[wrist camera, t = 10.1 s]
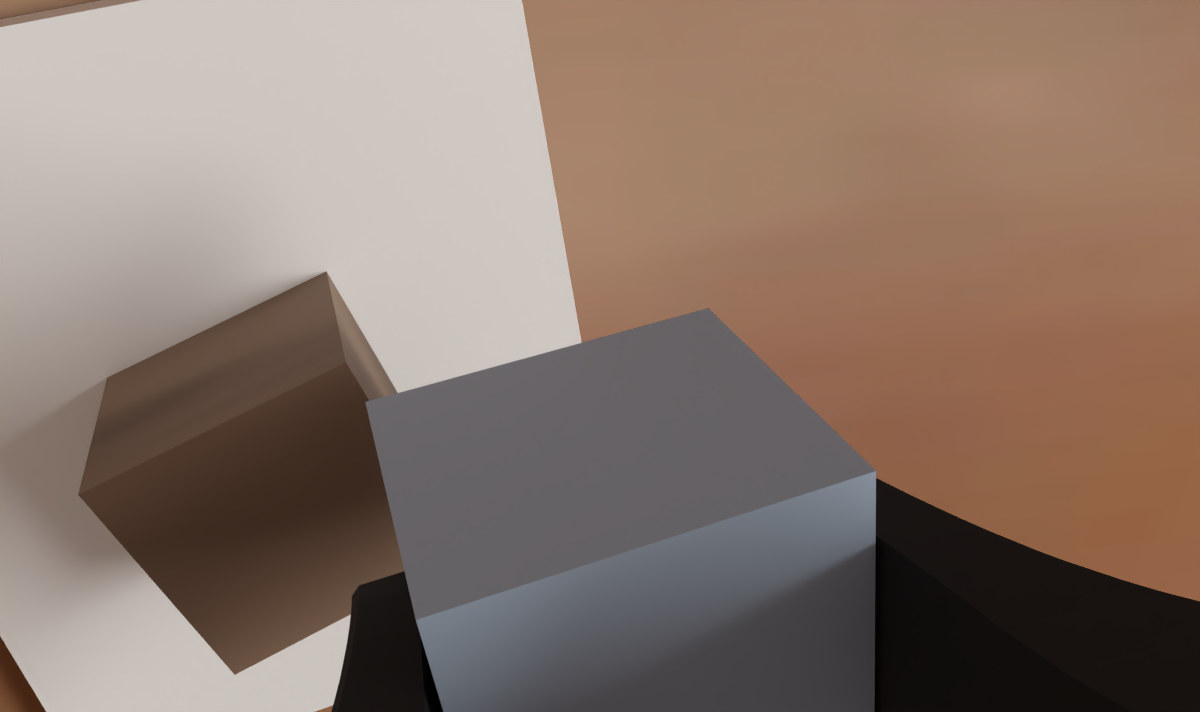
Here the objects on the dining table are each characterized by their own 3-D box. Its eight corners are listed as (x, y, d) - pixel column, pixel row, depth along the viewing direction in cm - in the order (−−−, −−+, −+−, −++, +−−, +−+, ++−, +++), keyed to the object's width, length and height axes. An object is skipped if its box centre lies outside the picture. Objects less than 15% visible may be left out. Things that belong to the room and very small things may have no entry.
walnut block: (427, 444, 21) (463, 555, 18) (234, 541, 21) (235, 675, 18) (326, 271, 19) (346, 362, 16) (107, 377, 19) (78, 494, 15)
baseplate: (611, 574, 26) (626, 603, 25) (98, 748, 24) (93, 788, 23) (494, -75, 18) (509, -71, 17) (-294, 75, 16) (-331, 90, 15)
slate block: (731, 570, 15) (873, 778, 12) (443, 667, 14) (507, 923, 11) (708, 307, 13) (876, 470, 10) (365, 401, 12) (415, 619, 9)
